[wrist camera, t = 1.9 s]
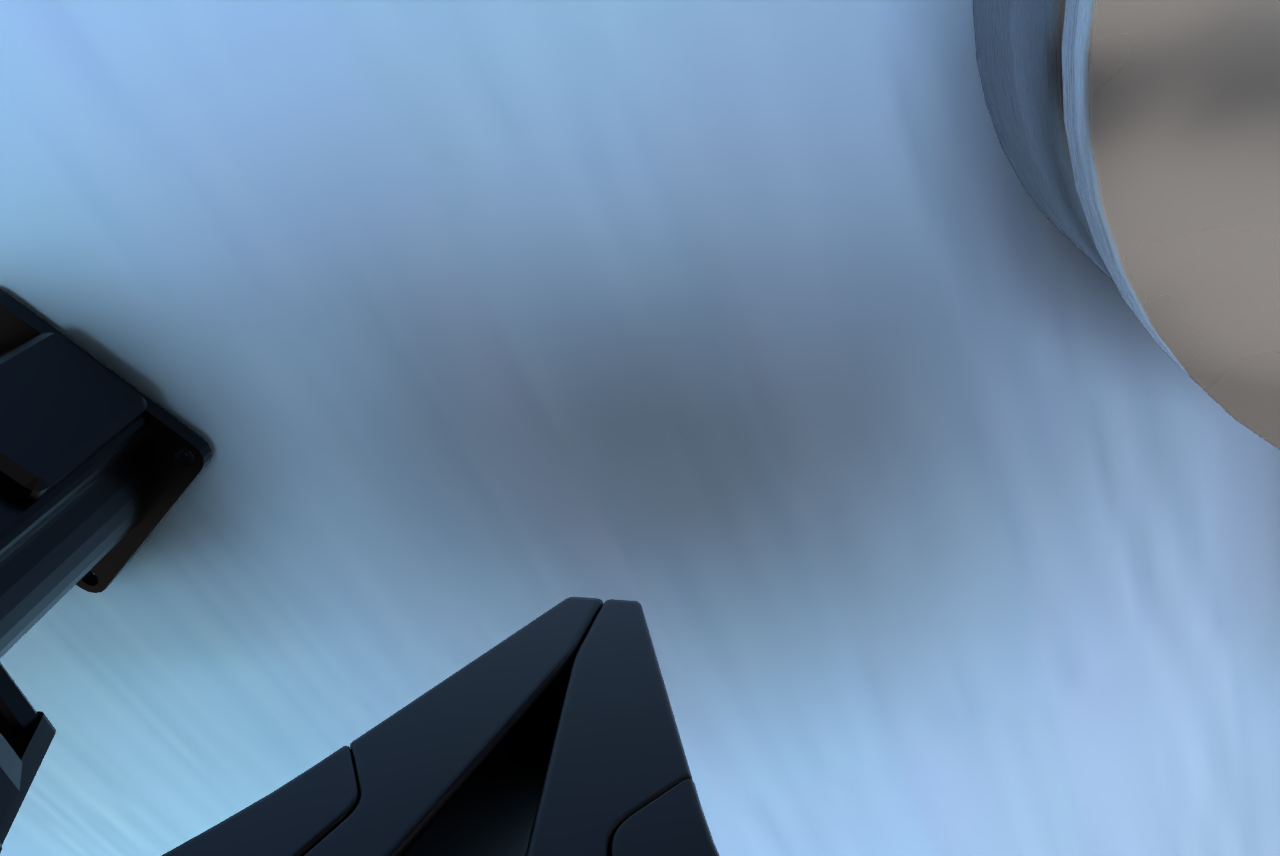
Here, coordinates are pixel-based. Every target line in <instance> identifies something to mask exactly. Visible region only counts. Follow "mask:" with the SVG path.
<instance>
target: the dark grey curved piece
mask: <svg viewBox="0 0 1280 856" xmlns="http://www.w3.org/2000/svg"><path fill="white" fill-rule="evenodd" d="M1065 5H1066V0H974V3H973V12H974V25H975V39H976V53H977V62H978V66H979V71H980V76H981V81H982V85H983V90H984V95H985V100H986V104H987V108H988V110H989V113H990V116H991V118H992V121H993V124H994V127H995V129H996V132H997V135H998V138H999V140H1000V143H1001V146H1002V148H1003V150H1004V152H1005V154H1006V156H1007V157H1008V159H1009V161H1010V163H1011V165H1012V167H1013V168H1014V170H1015V172H1016V174H1017V176H1018V178H1019V179H1020V181H1021V183H1022V185H1023V186H1024V188H1025V189H1026V190H1027V192H1028V193H1029V194H1030V196H1031V197H1032V198H1033V199H1034V201H1035V202H1036V203H1037V205H1038V206H1039V207H1040V209H1041V210H1042V211H1043V213H1044V214H1045V215H1046V216H1047V218H1048V219H1049V220H1050V221H1051V222H1052V223H1053V224H1054V225H1055V226H1056V227H1057V228H1058V229H1060V230H1061V231H1062V232H1063V233H1064V234H1065V235H1066V236H1067V237H1068V238H1069V239H1070V240H1071V241H1072V242H1073V243H1074V244H1075V245H1076V246H1077V247H1078V248H1079V249H1080V250H1081V251H1082V252H1084V253H1085V254H1086V255H1087V256H1088V257H1089V258H1090V259H1091V260H1092V261H1093V262H1094V263H1095V264H1096V265H1097V266H1098V267H1099V268H1100V269H1101V270H1102V271H1103V272H1104V273H1105V274H1107V275H1108V276H1109V277H1110V278H1111V279H1112V280H1113V278H1112V276H1111V274H1110V273H1109V271H1108V269H1107V267H1106V265H1105V263H1104V261H1103V259H1102V257H1101V256H1100V254H1099V252H1098V250H1097V248H1096V246H1095V243H1094V240H1093V237H1092V234H1091V231H1090V228H1089V225H1088V222H1087V219H1086V216H1085V213H1084V210H1083V207H1082V204H1081V201H1080V198H1079V195H1078V192H1077V190H1076V186H1075V180H1074V174H1073V169H1072V163H1071V157H1070V152H1069V146H1068V141H1067V135H1066V129H1065V124H1064V106H1063V77H1062V48H1061V47H1062V36H1063V26H1064V15H1065ZM1113 281H1114V280H1113Z"/></svg>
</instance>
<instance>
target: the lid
mask: <svg viewBox="0 0 1280 856" xmlns="http://www.w3.org/2000/svg"><path fill="white" fill-rule="evenodd" d="M1061 48H1062V77H1063V106H1064V124H1065V129H1066V135H1067V141H1068V146H1069V152H1070V157H1071V163H1072V169H1073V174H1074V180H1075V186H1076V190H1077V192H1078V195H1079V198H1080V201H1081V204H1082V207H1083V210H1084V213H1085V216H1086V219H1087V222H1088V225H1089V228H1090V231H1091V234H1092V237H1093V240H1094V243H1095V246H1096V248H1097V250H1098V252H1099V254H1100V256H1101V257H1102V259H1103V261H1104V263H1105V265H1106V267H1107V269H1108V271H1109V273H1110V274H1111V276H1112V278H1113V280H1114V282H1115V284H1116V286H1117V288H1118V290H1119V291H1120V293H1121V295H1122V297H1123V299H1124V300H1125V302H1126V303H1127V304H1128V306H1129V307H1130V308H1131V310H1132V311H1133V312H1134V314H1135V315H1136V316H1137V317H1138V319H1139V320H1140V321H1141V323H1142V324H1143V325H1144V327H1145V328H1146V329H1147V331H1148V332H1149V333H1150V335H1151V336H1152V337H1153V339H1154V340H1155V341H1156V342H1157V344H1158V345H1159V346H1160V347H1161V348H1162V349H1163V350H1164V351H1165V352H1166V353H1167V354H1168V355H1169V356H1170V357H1171V358H1172V359H1173V360H1174V361H1175V362H1176V363H1177V364H1178V365H1179V366H1180V367H1181V368H1182V369H1183V370H1184V371H1185V372H1186V373H1187V374H1188V375H1189V376H1190V377H1191V378H1192V379H1193V380H1194V381H1195V382H1196V383H1197V384H1198V385H1199V386H1200V387H1201V388H1202V389H1203V390H1205V391H1206V392H1207V393H1208V394H1209V395H1210V396H1211V397H1212V398H1213V399H1214V400H1215V401H1216V402H1217V403H1218V404H1219V405H1220V406H1222V407H1223V408H1224V409H1225V410H1226V411H1227V412H1228V413H1229V414H1230V415H1231V416H1232V417H1233V418H1234V419H1235V420H1237V421H1238V422H1240V423H1241V424H1243V425H1244V426H1246V427H1247V428H1248V429H1250V430H1251V431H1253V432H1254V433H1256V434H1257V435H1259V436H1260V437H1262V438H1263V439H1265V440H1266V441H1268V442H1269V443H1271V444H1272V445H1274V446H1275V447H1277V448H1278V449H1279V450H1280V0H1066V5H1065V15H1064V26H1063V36H1062V47H1061Z"/></svg>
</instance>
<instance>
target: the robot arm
mask: <svg viewBox="0 0 1280 856" xmlns="http://www.w3.org/2000/svg"><path fill="white" fill-rule="evenodd" d="M183 449H185V450H187V451H189V452H190V453H191V454H192V455H193V456H194V458H191V457H189V456H187V455H186V454H185V452H184V450H183ZM211 457H212V453H211V449H210V447H209V445H208V443H207V442H206V441H205V440H204V439H203V438H202V437H200V436H199V435H198V434H196V433H195V432H194V431H192V430H191V429H189V428H188V427H187V426H185V425H184V424H183V423H181V422H180V421H179V420H177V419H176V418H175V417H173V416H172V415H171V414H169V413H168V412H166V411H165V410H164V409H162V408H161V407H160V406H158V405H157V404H156V403H154V402H153V401H152V400H150V399H149V398H148V397H146V396H145V395H143V394H142V393H141V392H139V391H138V390H137V389H135V388H134V387H133V386H131V385H130V384H129V383H127V382H126V381H125V380H123V379H122V378H120V377H119V376H118V375H116V374H115V373H114V372H112V371H111V370H110V369H108V368H107V367H106V366H104V365H103V364H102V363H100V362H99V361H97V360H96V359H95V358H93V357H92V356H91V355H89V354H88V353H87V352H85V351H84V350H83V349H81V348H80V347H79V346H77V345H76V344H74V343H73V342H72V341H70V340H69V339H68V338H66V337H65V336H64V335H62V334H61V333H60V332H58V331H57V330H56V329H54V328H53V327H51V326H50V325H49V324H47V323H46V322H45V321H43V320H42V319H41V318H39V317H38V316H37V315H35V314H34V313H33V312H31V311H30V310H28V309H27V308H26V307H24V306H23V305H22V304H20V303H19V302H18V301H16V300H15V299H14V298H12V297H11V296H10V295H8V294H7V293H5V292H4V291H2V290H0V658H1V657H2V656H3V655H4V654H5V653H6V652H7V651H8V650H9V649H10V648H11V647H12V646H13V645H14V644H15V643H16V642H17V641H18V640H19V639H20V638H21V637H22V636H23V635H24V634H25V633H26V632H27V631H28V630H29V629H30V628H31V627H32V626H33V625H34V624H35V623H36V622H38V621H39V620H40V619H41V618H42V617H43V616H44V615H45V614H46V613H47V612H48V611H49V610H50V609H51V608H52V607H53V606H54V605H55V604H56V603H57V602H58V601H59V600H60V599H61V598H62V597H63V596H64V595H65V594H66V593H67V592H68V591H69V590H70V589H71V588H72V587H73V586H74V585H75V584H76V585H77V586H79V587H80V588H82V589H84V590H86V591H88V592H93V593H98V592H102V591H103V590H105V589H106V588H107V587H108V586H109V585H110V584H111V583H112V582H113V581H114V579H115V578H116V577H117V576H118V574H119V573H120V572H121V571H122V569H123V568H124V567H125V566H126V565H127V563H128V562H129V561H130V560H131V558H132V557H133V556H134V555H135V553H136V552H137V551H138V550H139V548H140V547H141V546H142V545H143V544H144V542H145V541H146V540H147V539H148V537H149V536H150V535H151V534H152V532H153V531H154V530H155V529H156V527H157V526H158V525H159V524H160V523H161V521H162V520H163V519H164V518H165V516H166V515H167V514H168V513H169V511H170V510H171V509H172V508H173V507H174V505H175V504H176V503H177V502H178V500H179V499H180V498H181V497H182V495H183V494H184V493H185V492H186V490H187V489H188V488H189V487H190V486H191V484H192V483H193V482H194V481H195V479H196V478H197V477H198V476H199V474H200V473H201V472H202V471H203V469H204V468H205V467H206V466H207V465H208V463H209V462H210V460H211ZM93 573H94V574H95V575H94V574H93ZM55 732H56V730H55V728H54V727H53V725H52V724H51V723H50V721H49V720H48V719H47V717H46V716H45V714H44V713H43V712H39V711H38V712H36V711H35V709H34V708H33V706H32V705H31V704H30V702H29V701H28V700H27V698H26V697H25V695H24V694H23V693H22V691H21V690H20V689H19V687H18V686H17V685H16V683H15V682H14V680H13V679H12V678H11V676H10V675H9V674H8V672H7V671H6V670H5V668H4V667H3V665H2V664H1V663H0V853H1V850H2V844H3V842H4V840H5V838H6V836H7V834H8V831H9V829H10V827H11V825H12V823H13V821H14V819H15V817H16V815H17V813H18V810H19V808H20V806H21V804H22V802H23V800H24V798H25V796H26V794H27V792H28V790H29V787H30V785H31V783H32V781H33V779H34V777H35V775H36V773H37V771H38V769H39V766H40V764H41V762H42V760H43V758H44V756H45V754H46V752H47V750H48V748H49V745H50V743H51V741H52V739H53V737H54V735H55ZM350 748H351V749H350ZM162 856H719V854H718V851H717V849H716V847H715V845H714V842H713V839H712V836H711V833H710V831H709V828H708V825H707V822H706V819H705V816H704V813H703V810H702V808H701V804H700V801H699V798H698V794H697V791H696V787H695V784H694V782H693V781H692V776H691V773H690V770H689V766H688V763H687V759H686V756H685V753H684V749H683V746H682V742H681V739H680V736H679V732H678V729H677V725H676V722H675V719H674V715H673V712H672V708H671V705H670V702H669V698H668V695H667V691H666V688H665V685H664V681H663V678H662V674H661V671H660V668H659V664H658V661H657V657H656V654H655V651H654V647H653V644H652V640H651V637H650V634H649V630H648V627H647V623H646V620H645V617H644V613H643V610H642V606H641V604H640V603H639V602H637V601H626V600H612V599H611V600H607V601H605V603H603V601H602V600H600V599H597V598H582V597H570V598H567V599H565V600H564V601H562V602H561V603H559V604H558V605H556V606H555V607H553V608H552V609H550V610H549V611H547V612H546V613H544V614H543V615H541V616H540V617H538V618H537V619H535V620H534V621H532V622H531V623H529V624H528V625H526V626H525V627H523V628H522V629H520V630H519V631H517V632H516V633H514V634H513V635H511V636H510V637H508V638H507V639H505V640H504V641H502V642H501V643H499V644H498V645H496V646H495V647H493V648H492V649H490V650H489V651H487V652H486V653H484V654H483V655H481V656H480V657H479V658H477V659H476V660H474V661H473V662H471V663H470V664H468V665H467V666H465V667H464V668H462V669H461V670H459V671H458V672H456V673H455V674H453V675H452V676H450V677H449V678H447V679H446V680H444V681H443V682H441V683H440V684H438V685H437V686H435V687H434V688H432V689H431V690H429V691H428V692H426V693H425V694H423V695H422V696H420V697H419V698H417V699H416V700H414V701H413V702H411V703H410V704H408V705H407V706H405V707H404V708H402V709H401V710H399V711H398V712H396V713H395V714H393V715H392V716H390V717H389V718H387V719H386V720H384V721H383V722H381V723H380V724H378V725H377V726H375V727H374V728H372V729H371V730H369V731H368V732H366V733H365V734H363V735H362V736H360V737H359V738H357V739H356V740H354V741H353V742H352V743H351V745H350V747H349V746H343V747H342V748H340V749H339V750H337V751H336V752H334V753H333V754H331V755H330V756H328V757H327V758H325V759H324V760H322V761H321V762H319V763H318V764H316V765H315V766H313V767H312V768H310V769H308V770H307V771H305V772H304V773H302V774H301V775H299V776H297V777H296V778H294V779H293V780H291V781H290V782H288V783H286V784H285V785H283V786H282V787H280V788H279V789H277V790H275V791H274V792H272V793H271V794H269V795H267V796H265V797H264V798H262V799H260V800H259V801H257V802H255V803H253V804H252V805H250V806H248V807H247V808H245V809H243V810H241V811H240V812H238V813H236V814H235V815H233V816H231V817H229V818H228V819H226V820H224V821H223V822H221V823H219V824H217V825H216V826H214V827H212V828H210V829H208V830H207V831H205V832H203V833H201V834H199V835H198V836H196V837H194V838H192V839H191V840H189V841H187V842H185V843H183V844H182V845H180V846H178V847H176V848H174V849H173V850H171V851H169V852H167V853H165V854H164V855H162Z"/></svg>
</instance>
